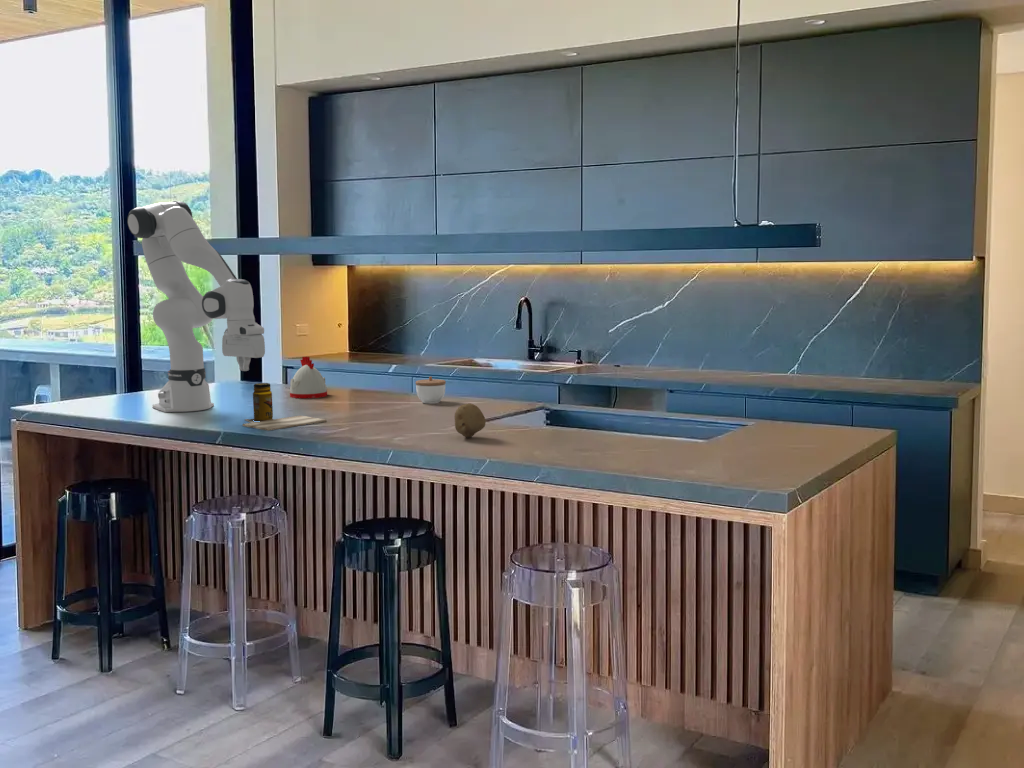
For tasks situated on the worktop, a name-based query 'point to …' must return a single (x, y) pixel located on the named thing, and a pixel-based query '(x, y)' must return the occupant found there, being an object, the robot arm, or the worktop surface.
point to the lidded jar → (430, 390)
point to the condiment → (262, 403)
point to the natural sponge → (469, 420)
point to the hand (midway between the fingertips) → (244, 370)
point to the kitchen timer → (307, 381)
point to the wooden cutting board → (284, 422)
